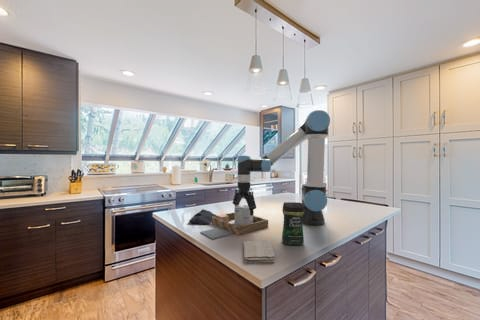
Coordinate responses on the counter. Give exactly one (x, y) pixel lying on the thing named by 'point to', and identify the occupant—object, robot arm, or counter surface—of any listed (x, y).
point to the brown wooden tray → (256, 225)
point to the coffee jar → (293, 223)
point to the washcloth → (258, 252)
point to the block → (223, 217)
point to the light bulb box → (242, 215)
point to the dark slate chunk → (202, 217)
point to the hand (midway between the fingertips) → (243, 218)
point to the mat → (216, 233)
